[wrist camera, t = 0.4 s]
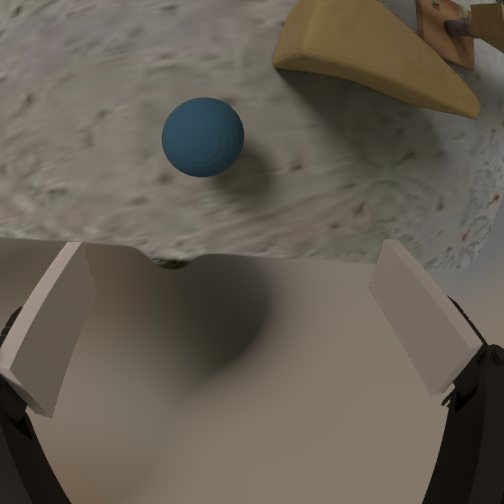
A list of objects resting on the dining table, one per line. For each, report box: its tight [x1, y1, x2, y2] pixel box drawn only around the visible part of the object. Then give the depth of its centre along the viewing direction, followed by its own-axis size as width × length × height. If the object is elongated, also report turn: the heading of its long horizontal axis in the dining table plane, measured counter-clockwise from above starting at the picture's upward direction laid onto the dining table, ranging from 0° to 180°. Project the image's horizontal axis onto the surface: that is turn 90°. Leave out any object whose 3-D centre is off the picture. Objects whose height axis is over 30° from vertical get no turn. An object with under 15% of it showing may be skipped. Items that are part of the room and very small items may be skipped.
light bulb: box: [162, 98, 244, 177], centre depth 29 cm, size 8×8×12 cm
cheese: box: [272, 0, 481, 119], centre depth 24 cm, size 22×10×15 cm, turn 73°
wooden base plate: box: [415, 0, 474, 71], centre depth 24 cm, size 12×12×6 cm
